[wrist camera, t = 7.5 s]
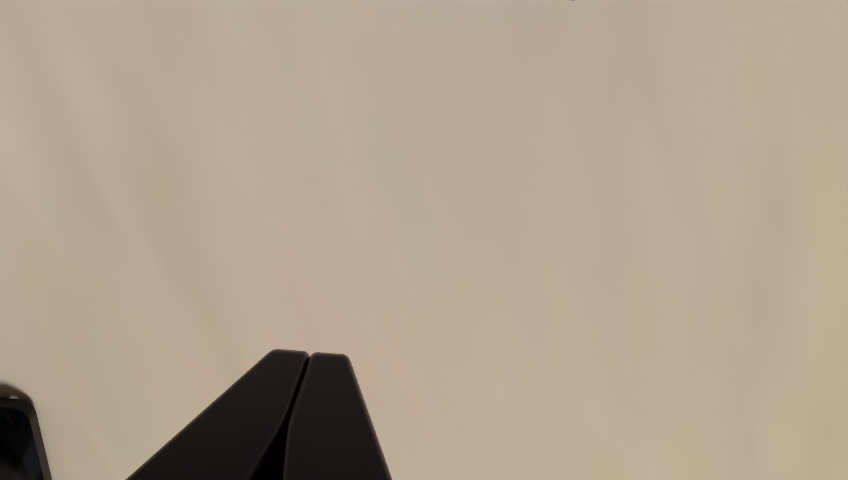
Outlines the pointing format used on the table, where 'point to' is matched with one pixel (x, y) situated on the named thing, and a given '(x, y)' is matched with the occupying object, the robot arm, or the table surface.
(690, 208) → the table surface
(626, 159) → the table surface
